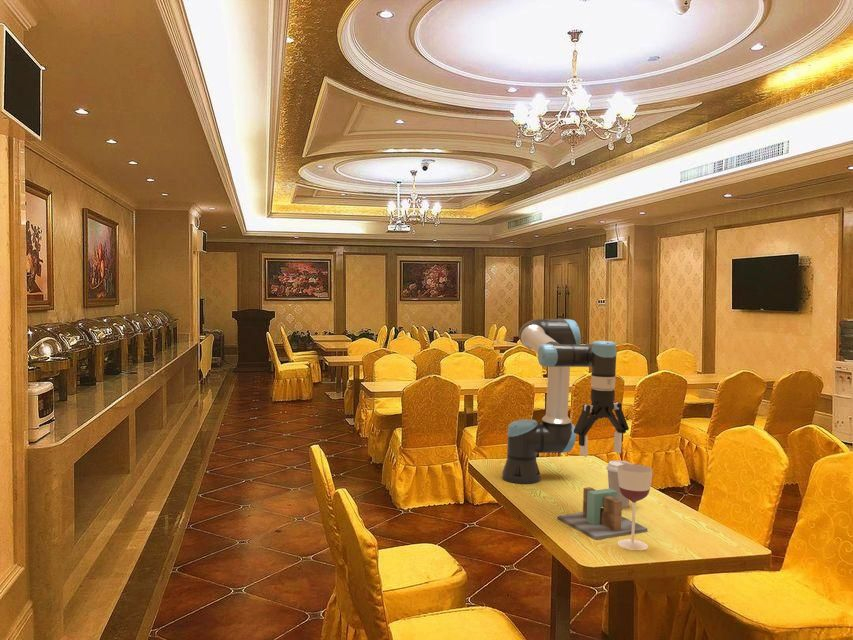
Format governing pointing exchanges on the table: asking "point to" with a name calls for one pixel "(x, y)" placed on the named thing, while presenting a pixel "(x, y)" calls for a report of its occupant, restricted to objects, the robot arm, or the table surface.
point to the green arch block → (597, 504)
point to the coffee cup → (616, 480)
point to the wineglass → (634, 495)
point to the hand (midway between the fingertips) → (600, 454)
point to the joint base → (602, 520)
